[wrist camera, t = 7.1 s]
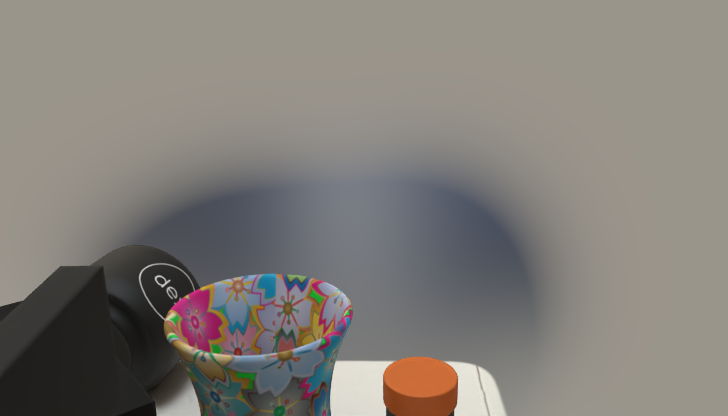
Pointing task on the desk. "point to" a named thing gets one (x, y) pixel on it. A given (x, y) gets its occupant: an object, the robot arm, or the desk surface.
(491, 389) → the desk surface
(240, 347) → the mug
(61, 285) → the robot arm
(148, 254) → the mug
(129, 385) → the energy cube
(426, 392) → the marker
